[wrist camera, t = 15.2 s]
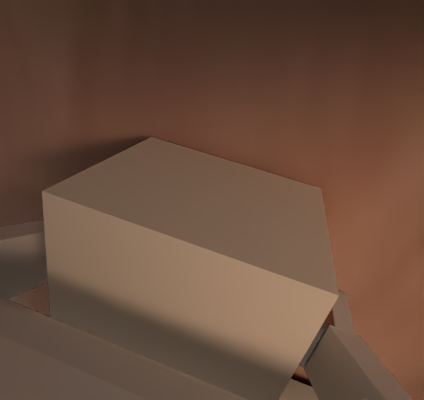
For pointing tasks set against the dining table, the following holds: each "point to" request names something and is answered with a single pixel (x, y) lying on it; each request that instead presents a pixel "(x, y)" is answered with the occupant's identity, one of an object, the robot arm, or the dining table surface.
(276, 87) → the dining table surface
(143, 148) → the cream box
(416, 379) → the dining table surface
